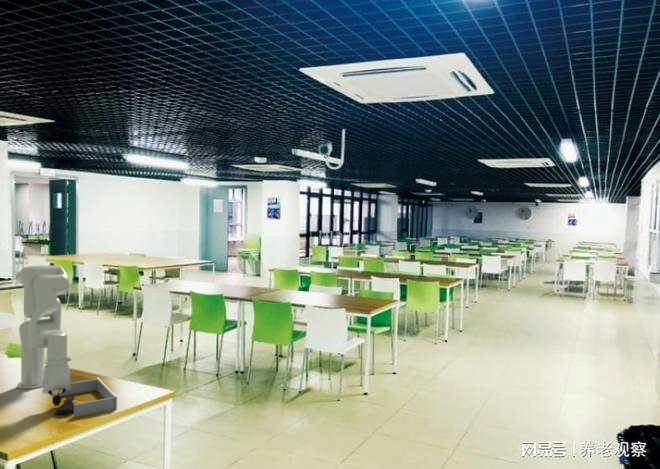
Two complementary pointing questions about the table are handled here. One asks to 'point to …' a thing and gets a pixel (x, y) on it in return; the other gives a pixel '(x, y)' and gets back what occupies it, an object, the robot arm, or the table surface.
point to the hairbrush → (66, 406)
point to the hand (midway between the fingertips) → (56, 404)
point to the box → (92, 406)
